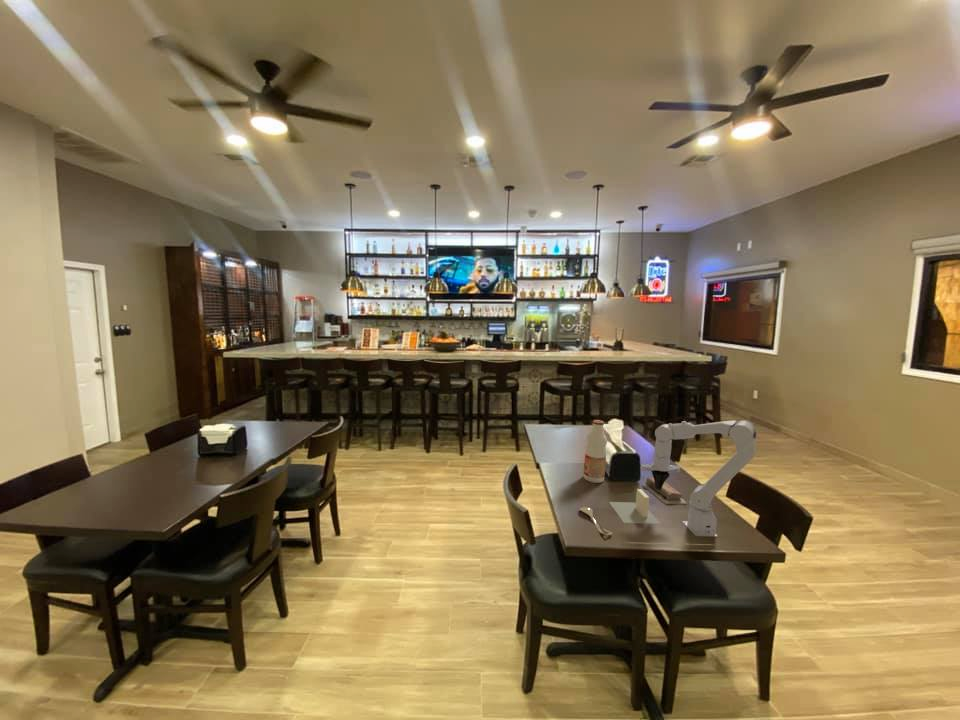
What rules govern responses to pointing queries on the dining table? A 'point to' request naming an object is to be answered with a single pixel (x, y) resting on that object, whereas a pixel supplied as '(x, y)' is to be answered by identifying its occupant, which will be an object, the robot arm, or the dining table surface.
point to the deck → (642, 503)
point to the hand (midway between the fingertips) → (658, 488)
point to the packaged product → (664, 492)
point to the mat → (632, 513)
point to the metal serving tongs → (590, 513)
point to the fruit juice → (595, 453)
